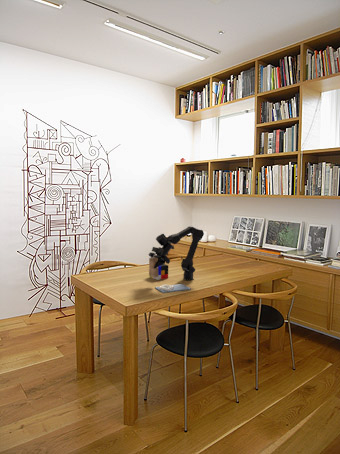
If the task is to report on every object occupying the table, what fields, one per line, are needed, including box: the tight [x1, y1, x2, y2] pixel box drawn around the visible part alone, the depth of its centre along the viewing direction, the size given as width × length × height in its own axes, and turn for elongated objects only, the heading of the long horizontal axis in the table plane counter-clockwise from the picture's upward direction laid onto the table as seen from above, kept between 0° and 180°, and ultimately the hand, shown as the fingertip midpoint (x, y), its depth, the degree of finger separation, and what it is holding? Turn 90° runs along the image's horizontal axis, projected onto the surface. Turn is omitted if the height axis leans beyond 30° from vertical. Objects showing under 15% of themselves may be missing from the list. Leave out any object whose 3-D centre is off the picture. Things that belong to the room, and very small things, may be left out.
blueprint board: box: [154, 283, 192, 294], centre depth 227 cm, size 21×12×2 cm, turn 117°
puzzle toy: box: [150, 263, 169, 281], centre depth 257 cm, size 10×10×10 cm
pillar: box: [148, 257, 158, 279], centre depth 231 cm, size 4×4×13 cm
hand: (152, 267), depth 231 cm, fingers closed on pillar, 4 cm apart
